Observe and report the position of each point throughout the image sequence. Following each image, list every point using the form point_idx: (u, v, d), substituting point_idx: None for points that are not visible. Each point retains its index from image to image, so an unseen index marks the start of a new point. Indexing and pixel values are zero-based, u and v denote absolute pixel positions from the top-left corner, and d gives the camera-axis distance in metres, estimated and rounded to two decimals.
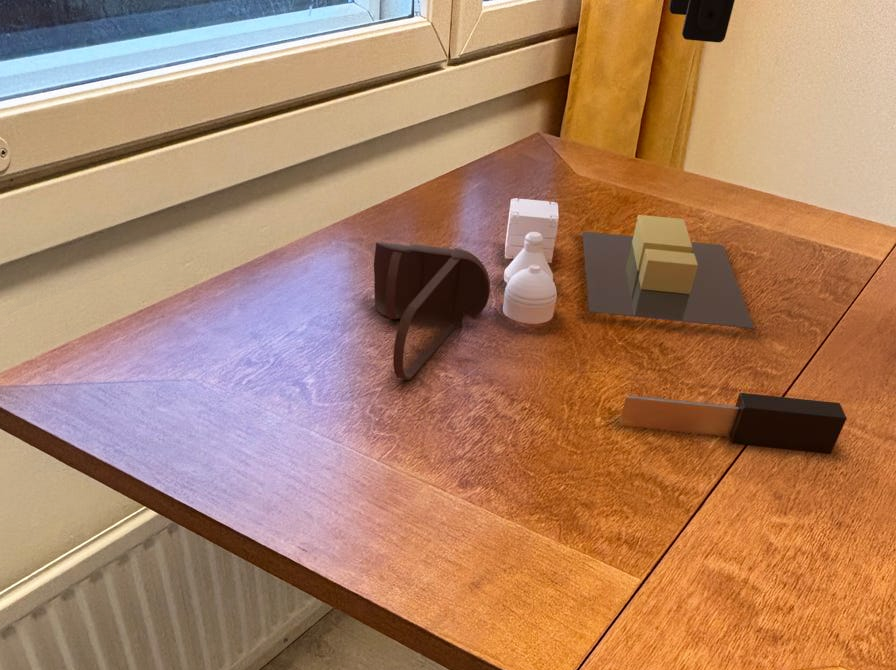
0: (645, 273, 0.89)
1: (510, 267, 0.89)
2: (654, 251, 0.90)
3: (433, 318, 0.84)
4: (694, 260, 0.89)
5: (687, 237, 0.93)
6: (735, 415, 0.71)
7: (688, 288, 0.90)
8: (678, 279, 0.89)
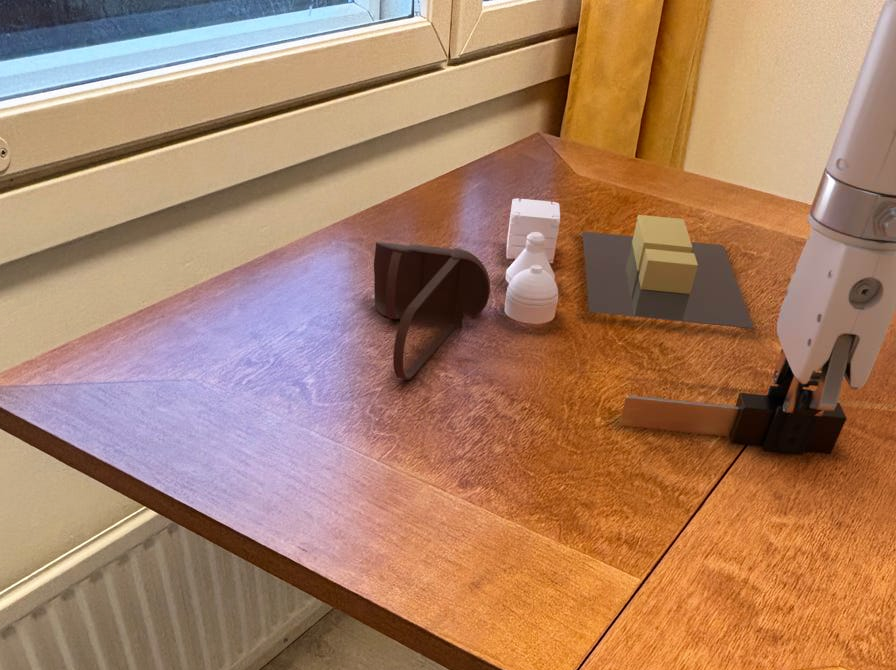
0: (645, 273, 0.89)
1: (512, 267, 0.89)
2: (654, 251, 0.90)
3: (433, 318, 0.84)
4: (694, 260, 0.89)
5: (687, 237, 0.93)
6: (735, 415, 0.71)
7: (688, 288, 0.90)
8: (678, 279, 0.89)
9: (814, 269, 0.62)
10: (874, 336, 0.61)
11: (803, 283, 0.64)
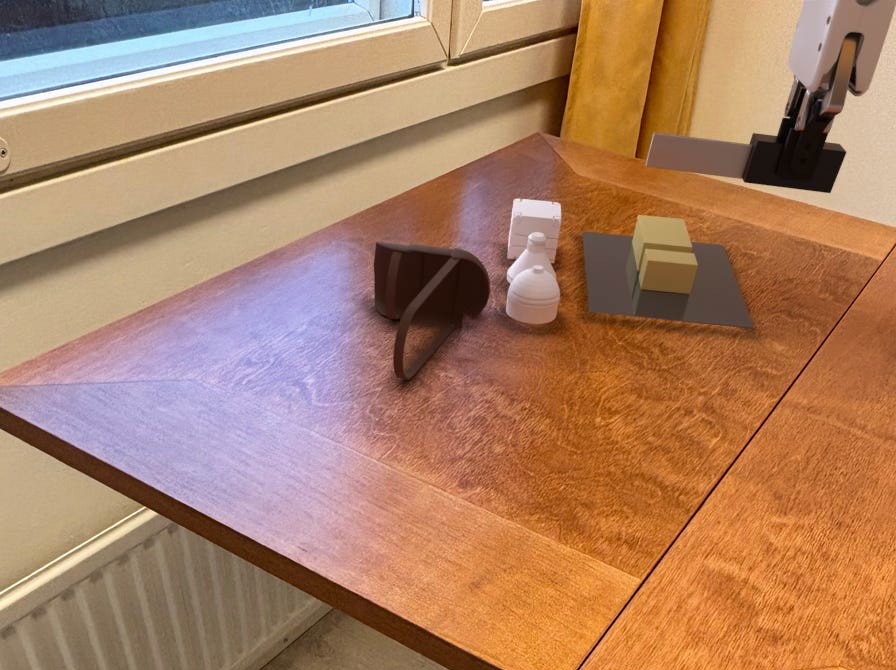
0: (645, 273, 0.89)
1: (513, 267, 0.89)
2: (654, 251, 0.90)
3: (433, 318, 0.84)
4: (694, 260, 0.89)
5: (687, 237, 0.93)
6: (749, 152, 0.81)
7: (688, 288, 0.90)
8: (678, 279, 0.89)
9: None
10: (877, 34, 0.70)
11: (813, 1, 0.73)
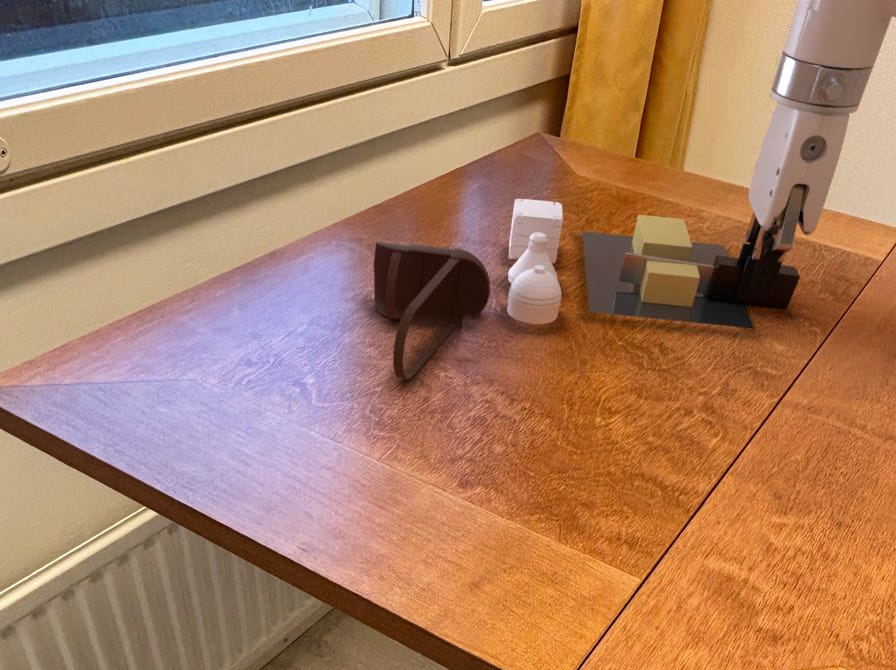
0: (646, 285, 0.87)
1: (514, 267, 0.89)
2: (655, 263, 0.88)
3: (433, 318, 0.84)
4: (696, 272, 0.87)
5: (687, 237, 0.93)
6: (712, 272, 0.89)
7: (690, 301, 0.88)
8: (680, 291, 0.87)
9: (775, 135, 0.79)
10: (821, 186, 0.78)
11: (767, 149, 0.81)
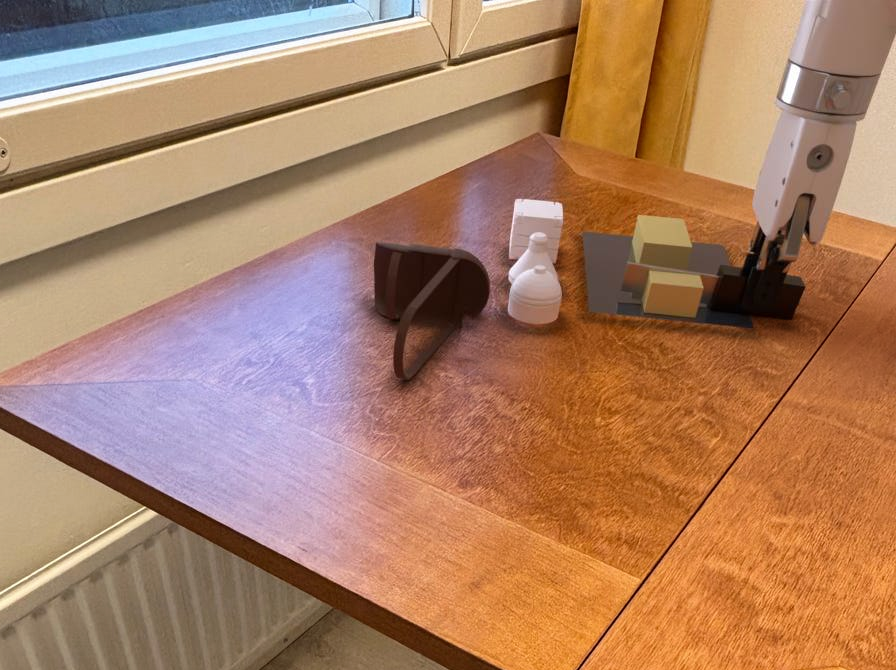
0: (648, 296, 0.85)
1: (515, 267, 0.89)
2: (658, 273, 0.86)
3: (433, 318, 0.84)
4: (700, 283, 0.85)
5: (687, 237, 0.93)
6: (716, 282, 0.87)
7: (693, 312, 0.86)
8: (683, 302, 0.86)
9: (780, 143, 0.77)
10: (827, 195, 0.76)
11: (772, 158, 0.79)
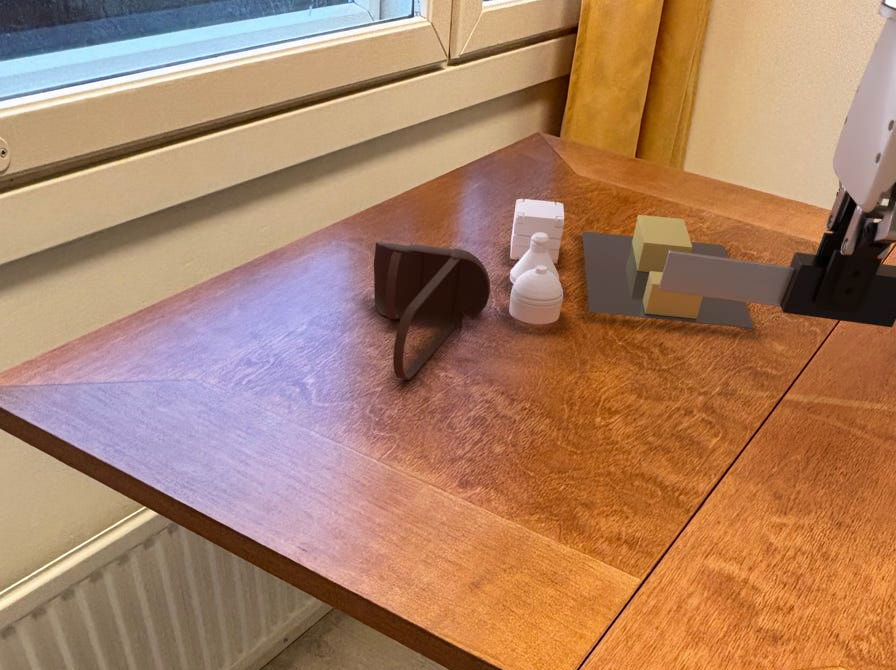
0: (650, 297, 0.85)
1: (516, 268, 0.89)
2: (659, 274, 0.86)
3: (433, 318, 0.84)
4: None
5: (687, 237, 0.93)
6: (789, 276, 0.64)
7: (694, 312, 0.86)
8: (684, 303, 0.85)
9: (884, 73, 0.54)
10: None
11: (869, 95, 0.56)
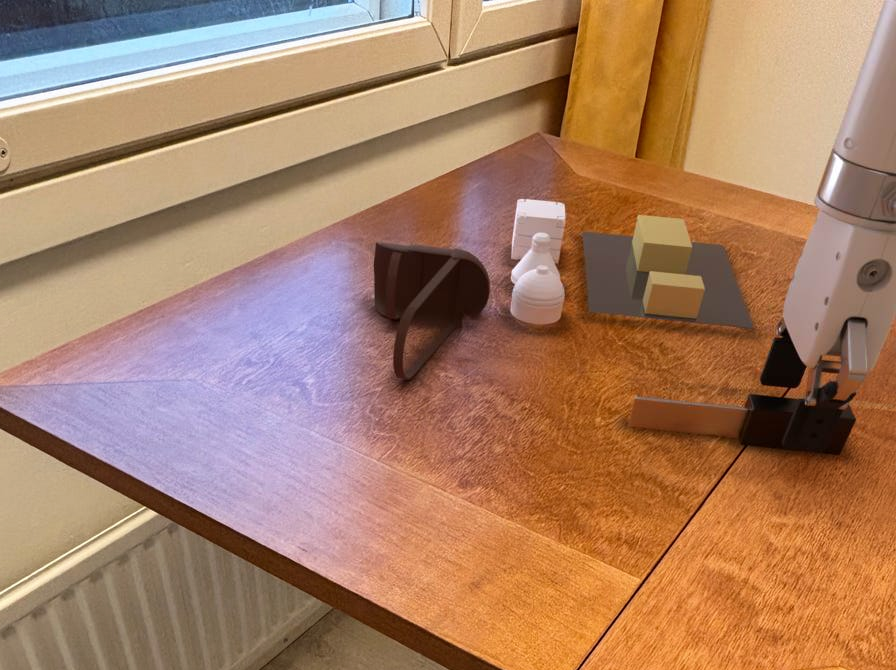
0: (650, 297, 0.85)
1: (517, 268, 0.89)
2: (659, 274, 0.86)
3: (433, 319, 0.84)
4: (701, 283, 0.85)
5: (687, 237, 0.93)
6: (744, 416, 0.71)
7: (694, 312, 0.86)
8: (684, 303, 0.85)
9: (821, 252, 0.62)
10: (882, 319, 0.60)
11: (810, 266, 0.63)
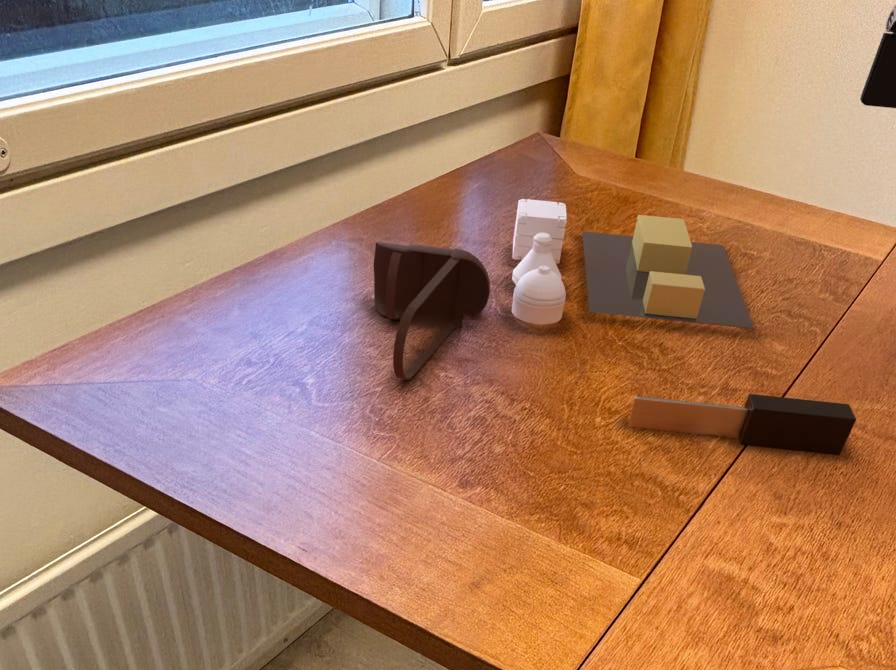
0: (650, 297, 0.85)
1: (518, 268, 0.89)
2: (659, 274, 0.86)
3: (433, 319, 0.84)
4: (701, 283, 0.85)
5: (687, 237, 0.93)
6: (744, 416, 0.71)
7: (694, 312, 0.86)
8: (684, 303, 0.85)
9: None
10: None
11: None
